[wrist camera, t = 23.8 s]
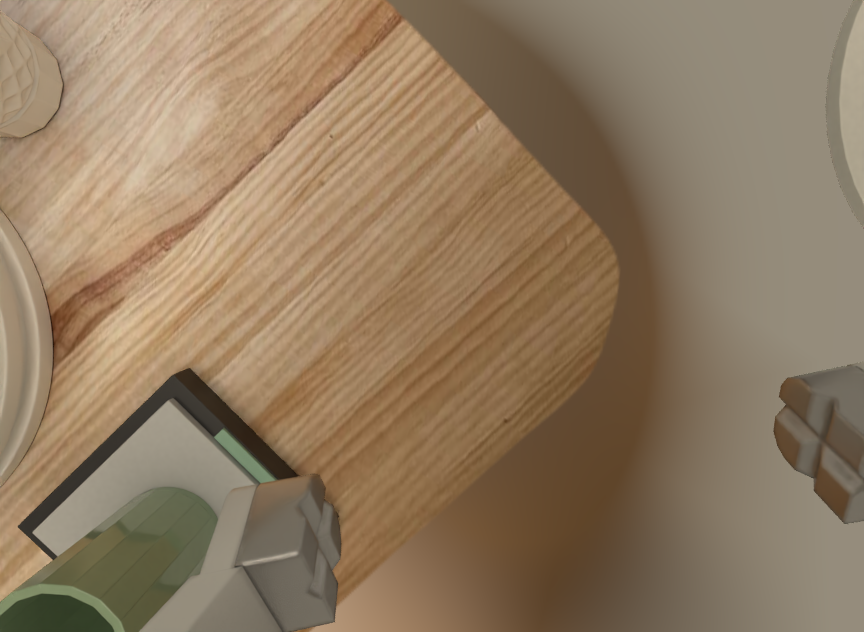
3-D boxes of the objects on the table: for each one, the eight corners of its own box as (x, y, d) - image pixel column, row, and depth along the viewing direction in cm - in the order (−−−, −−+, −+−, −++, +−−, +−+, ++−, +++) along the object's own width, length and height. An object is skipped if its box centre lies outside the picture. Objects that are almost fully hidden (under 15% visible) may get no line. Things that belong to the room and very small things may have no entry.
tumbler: (225, 490, 32) (133, 590, 22) (220, 591, 32) (128, 733, 22) (118, 482, 32) (-24, 579, 22) (114, 583, 32) (-25, 723, 22)
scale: (189, 367, 34) (167, 376, 31) (339, 516, 35) (331, 538, 32) (42, 510, 35) (7, 532, 32) (193, 652, 36) (173, 685, 33)
